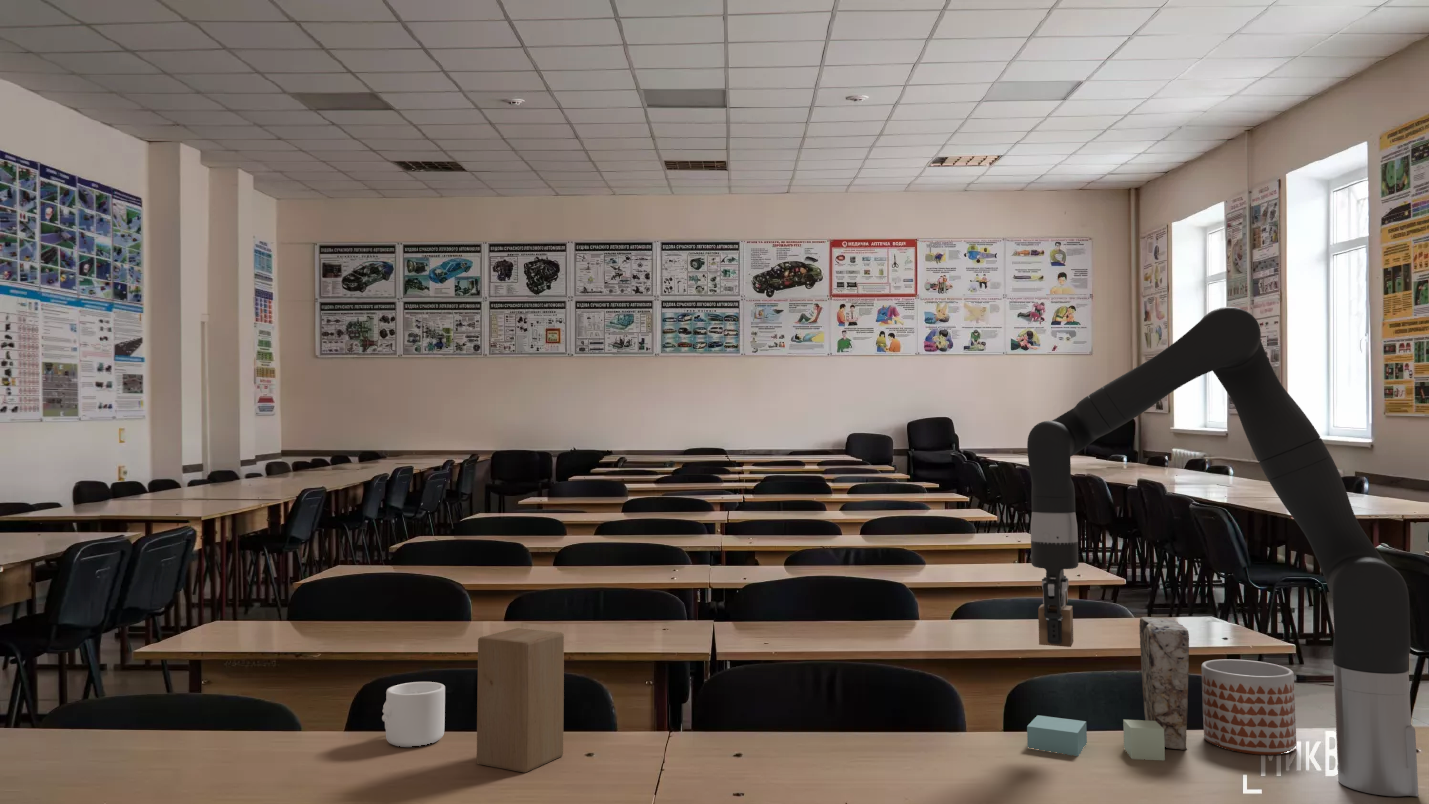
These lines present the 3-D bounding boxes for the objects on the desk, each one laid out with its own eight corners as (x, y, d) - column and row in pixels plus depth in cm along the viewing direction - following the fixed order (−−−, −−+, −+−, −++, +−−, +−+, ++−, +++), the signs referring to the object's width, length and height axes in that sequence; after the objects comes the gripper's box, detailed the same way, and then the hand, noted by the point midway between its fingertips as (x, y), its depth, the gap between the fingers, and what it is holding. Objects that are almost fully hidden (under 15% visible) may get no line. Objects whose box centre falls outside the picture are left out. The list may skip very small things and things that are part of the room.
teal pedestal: (1086, 745, 163) (1086, 721, 163) (1078, 758, 156) (1077, 732, 156) (1038, 738, 167) (1037, 715, 167) (1027, 750, 160) (1027, 726, 161)
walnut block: (1073, 641, 164) (1072, 606, 164) (1070, 646, 159) (1069, 610, 159) (1042, 639, 166) (1041, 604, 166) (1039, 644, 161) (1038, 608, 162)
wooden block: (475, 764, 153) (476, 637, 154) (516, 748, 162) (517, 627, 163) (525, 774, 148) (526, 642, 150) (564, 756, 157) (565, 632, 158)
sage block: (1156, 751, 159) (1155, 720, 159) (1165, 760, 154) (1163, 729, 154) (1124, 750, 160) (1123, 719, 160) (1131, 759, 155) (1130, 727, 155)
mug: (382, 733, 171) (383, 681, 172) (443, 728, 174) (443, 677, 175) (380, 752, 160) (381, 696, 160) (445, 746, 163) (446, 692, 163)
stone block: (1199, 751, 158) (1194, 628, 160) (1153, 749, 160) (1150, 627, 161) (1174, 729, 171) (1170, 615, 173) (1132, 727, 173) (1129, 614, 174)
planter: (1189, 732, 170) (1187, 658, 171) (1269, 732, 169) (1266, 659, 170) (1227, 755, 156) (1225, 676, 157) (1314, 756, 156) (1311, 676, 156)
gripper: (1074, 543, 155) (1076, 650, 154) (1081, 536, 168) (1083, 635, 167) (1025, 541, 159) (1027, 646, 157) (1036, 535, 172) (1038, 632, 170)
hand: (1056, 640), depth 162 cm, fingers closed on walnut block, 5 cm apart
